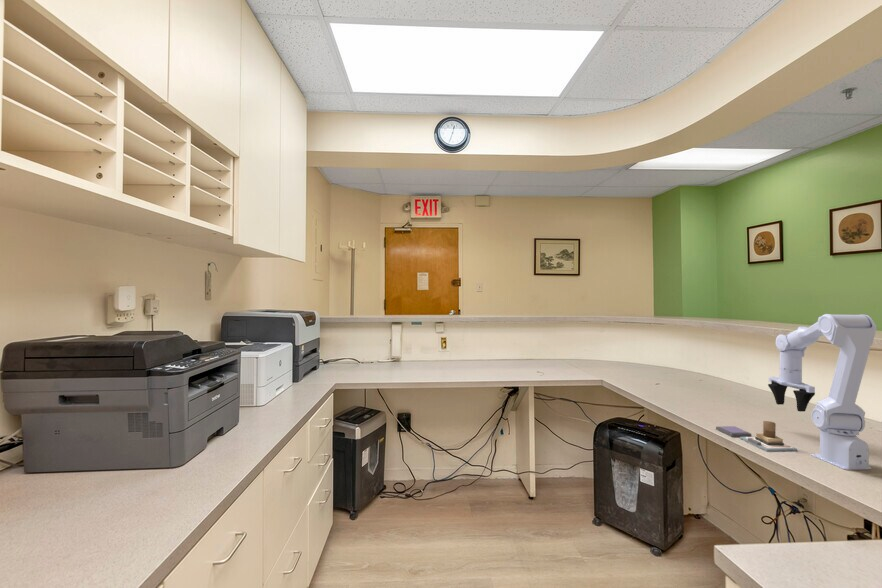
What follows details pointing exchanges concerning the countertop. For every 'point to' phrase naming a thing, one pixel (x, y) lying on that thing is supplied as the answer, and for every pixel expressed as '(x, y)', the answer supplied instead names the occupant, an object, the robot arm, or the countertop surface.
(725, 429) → the ink pad
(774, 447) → the clipboard
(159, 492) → the countertop surface
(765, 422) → the stamp
